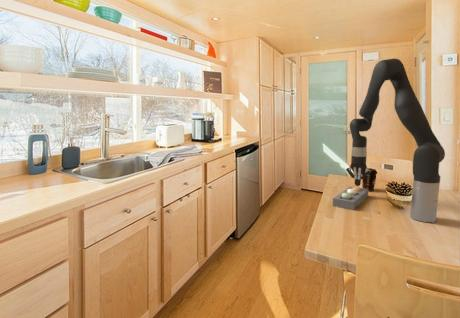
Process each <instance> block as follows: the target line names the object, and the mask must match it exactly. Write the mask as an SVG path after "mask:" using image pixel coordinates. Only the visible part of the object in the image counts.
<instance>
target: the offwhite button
mask: <svg viewBox="0 0 460 318" xmlns="http://www.w3.org/2000/svg"><path fill="white" fill-rule="evenodd" d="M346 189H347V188H346ZM347 193H350V194H351V195H354V196H356V190H355V189H347Z"/></svg>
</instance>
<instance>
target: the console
mask: <svg viewBox="0 0 460 318" xmlns="http://www.w3.org/2000/svg"><path fill="white" fill-rule="evenodd" d="M354 187H355V186H348V187H346V189H344V190H343V191H341V192H339V194H337V195H336V196H334V197H333V198H332V207H336V206H338V207H337V208H341V207H342V208H341V209H345V210H346V209H347V210H350V209H351V210H352V211H354V210H355V209H356V208H357V207H358V206H359V205H360V204H362V202H364V201H365V200H366V199H367V198H368V197H369V191H368V190H369V189H363V187H360V188H361V192H359V191H356V196H354V195H351V200H347V199H342V193H347V189H352V188H354Z"/></svg>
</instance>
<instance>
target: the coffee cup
mask: <svg viewBox="0 0 460 318" xmlns="http://www.w3.org/2000/svg"><path fill="white" fill-rule="evenodd" d="M367 169H369V170H371V172H370V173H369V174H368V175H367V176H366V177H365V178H364V179H361V188H363V189H369V190H368V192H374V191H375V185H376V181H377V174H378V171H377V169H375V168H371V167H370V168H369V167H367ZM365 171H366V170H365ZM365 171H364V172H363V173H362V176H363V175H364V174H365V173H366V172H365Z"/></svg>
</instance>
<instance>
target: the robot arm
mask: <svg viewBox="0 0 460 318" xmlns="http://www.w3.org/2000/svg"><path fill="white" fill-rule="evenodd" d="M386 81H389V82H390V83H391V85H392V87H393V90H394V94H395V95H394V110H395V112H396V115H397V117H398V119H399V121H400V122H401V124H402V126H403V127H404V128H405V129H406V130H407V131H408V132H409V133H410V134H411V136H412V137H413V139H414V140H415V143H416V145H417V148H416V149H415V150H414V153H413V158H412V175H413V181H412V193H411V201H410V202H411V203H410V211H409V216H410V218H411V219H413V220H415V221H418V222H424V223H433V224H435V223H436V221H437V220H436V219H437V214H438V213H437V212H438V205H439V192H440V184H441V183H440V182H441V176H440V174H439V169H440V163H441V162H442V161H444V159H445V157H446V152H445V149H444V147H443V146H442V144H441V142H440V141H439V140H438V138H437V137H436V134H435V133H434V132H433V130H432V128H431V125H430V123H429V121H428V117H427V116H426V114H425V112H424V110H423V107H422V106H421V103H420V101H419V99H418V97H417V96H416V93H415V92H414V90H413V87H412V85H411V82H410V80H409V77H408V74H407V71H406V68H405V65H404V63H403V62H402V61H401V60H400V59H399V58H387V59H382V60H379V61H378V62H376V64H375V65H374V68H373V70H372V72H371V78H370V81H369V84H368V89H367V92H366V95H365V97H364V100H363V102H362V104H361V106H360V109H359V112H358V115H359V116H360V118H353V119H352V120H351V121H350V123H349V131H350V135H351V139H352V143H351V145H352V146H351V147H352V148H351V153H350V154H351V155H350V157H351V159H350V166H349V167H347V168H346V172H347V173H348V175H349V176H350V178H353V179H354V185H355V186H356V187H359V186H360V185H362V179H364V178H365V177H366V176H367V175H368V174H369V173H370V172H371V170H369V169H367V168H368V166H367V155H368V154H367V153H368V152H367V150H368V149H367V147H368V143H367V142H368V138H367V137H366V136H365V135H361V133H362V132H368V131H370V129H371V128H372V125H373V120H374V119H373V118H374V115H375V113H376V111H377V109H378V107H379V104H380V91H381V89H382V86H383V84H384V83H385V82H386ZM361 117H362V118H361ZM360 132H361V133H360ZM365 170H366V171H365ZM364 171H365V172H366V173H365V174H364V175H363V176H362V173H363V172H364Z"/></svg>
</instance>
